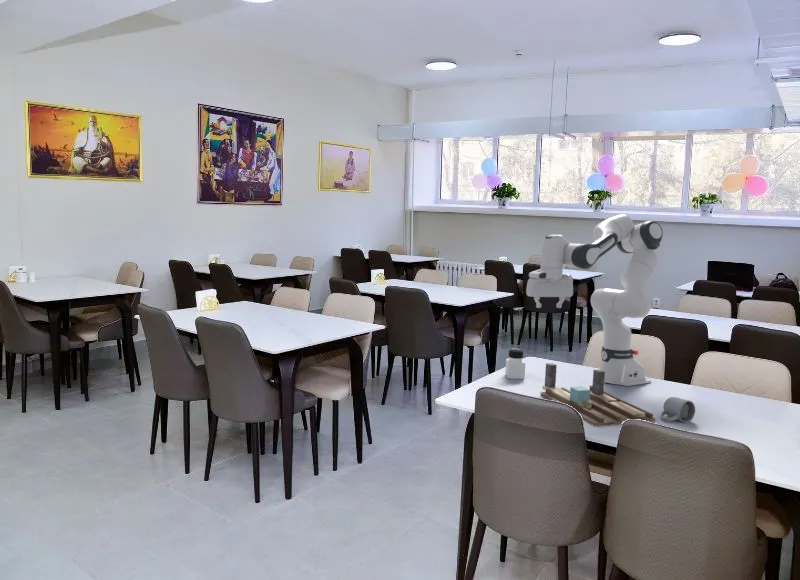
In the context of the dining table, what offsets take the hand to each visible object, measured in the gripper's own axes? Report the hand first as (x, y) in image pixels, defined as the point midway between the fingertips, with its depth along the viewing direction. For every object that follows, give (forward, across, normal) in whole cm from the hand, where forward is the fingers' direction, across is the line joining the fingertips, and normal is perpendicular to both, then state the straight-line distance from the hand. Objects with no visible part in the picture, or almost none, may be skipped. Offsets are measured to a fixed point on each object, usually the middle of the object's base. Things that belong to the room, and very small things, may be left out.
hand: (548, 307), depth 263 cm
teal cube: (+30, +4, +32) cm, 44 cm away
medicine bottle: (+32, +7, -12) cm, 35 cm away
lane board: (+32, -2, +33) cm, 46 cm away
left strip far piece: (+31, -8, +42) cm, 53 cm away
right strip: (+31, +4, +23) cm, 39 cm away
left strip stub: (+31, -9, +28) cm, 43 cm away
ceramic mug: (+32, -22, +52) cm, 65 cm away
